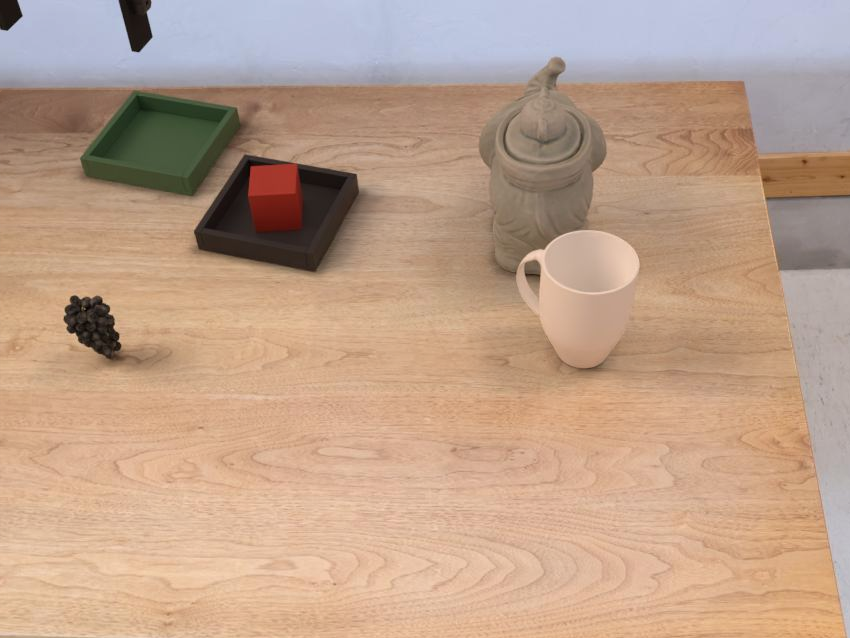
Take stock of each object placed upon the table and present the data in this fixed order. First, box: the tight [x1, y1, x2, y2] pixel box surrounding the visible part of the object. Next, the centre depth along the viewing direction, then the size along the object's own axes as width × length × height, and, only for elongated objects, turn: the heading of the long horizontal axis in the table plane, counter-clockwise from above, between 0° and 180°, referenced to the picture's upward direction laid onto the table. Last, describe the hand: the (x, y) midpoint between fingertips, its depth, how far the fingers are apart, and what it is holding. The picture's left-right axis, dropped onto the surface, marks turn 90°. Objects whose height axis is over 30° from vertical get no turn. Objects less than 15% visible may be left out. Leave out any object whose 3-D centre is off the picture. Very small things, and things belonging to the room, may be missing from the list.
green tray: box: [79, 90, 242, 197], centre depth 131 cm, size 14×14×3 cm
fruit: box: [62, 294, 122, 360], centre depth 108 cm, size 5×4×8 cm
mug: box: [515, 229, 640, 369], centre depth 106 cm, size 12×9×12 cm
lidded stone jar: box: [478, 56, 608, 276], centre depth 114 cm, size 16×15×19 cm
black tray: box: [193, 154, 360, 273], centre depth 123 cm, size 14×14×3 cm
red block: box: [248, 164, 303, 232], centre depth 121 cm, size 5×5×5 cm
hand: (76, 33), depth 103 cm, fingers open, 13 cm apart
